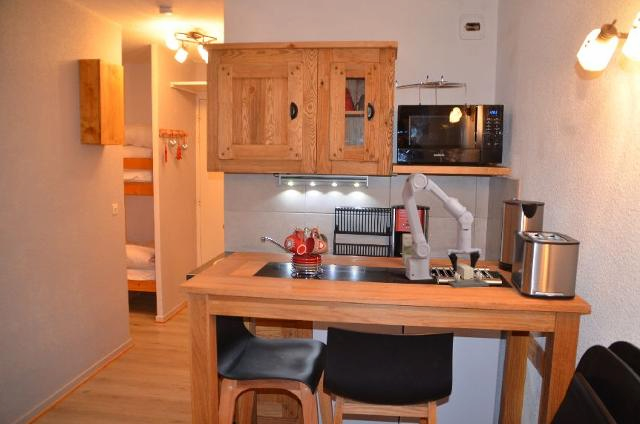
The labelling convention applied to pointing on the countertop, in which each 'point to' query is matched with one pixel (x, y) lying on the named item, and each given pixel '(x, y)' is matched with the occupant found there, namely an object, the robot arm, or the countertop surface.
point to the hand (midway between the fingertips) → (463, 270)
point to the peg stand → (468, 281)
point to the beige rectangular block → (465, 271)
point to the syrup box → (406, 247)
